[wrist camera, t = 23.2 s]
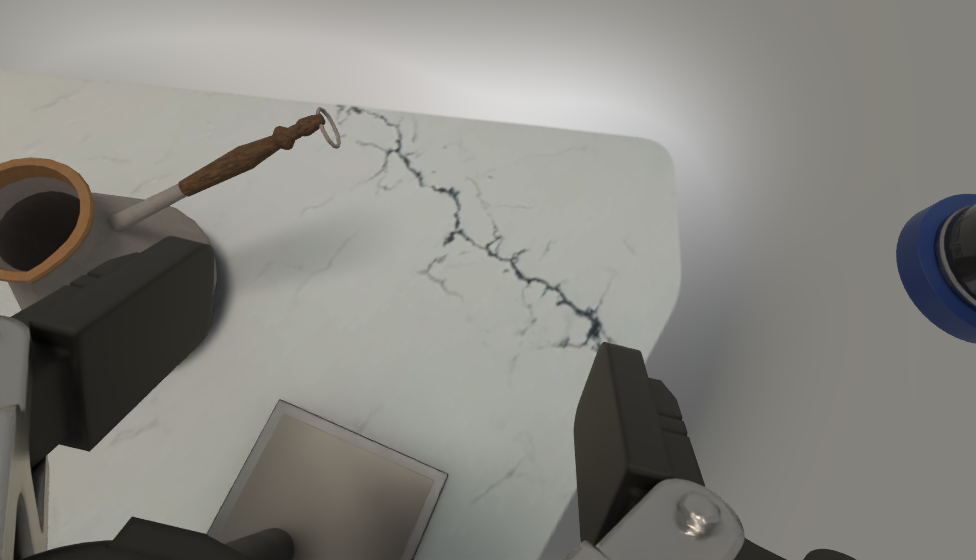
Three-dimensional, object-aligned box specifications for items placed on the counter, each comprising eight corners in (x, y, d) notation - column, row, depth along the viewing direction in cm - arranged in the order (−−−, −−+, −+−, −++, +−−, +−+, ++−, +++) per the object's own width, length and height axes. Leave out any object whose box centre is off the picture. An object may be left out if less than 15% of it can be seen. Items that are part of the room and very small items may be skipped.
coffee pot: (64, 401, 37) (-157, 355, 23) (42, 242, 41) (-165, 118, 26) (387, 303, 41) (365, 215, 27) (344, 166, 45) (305, 22, 30)
